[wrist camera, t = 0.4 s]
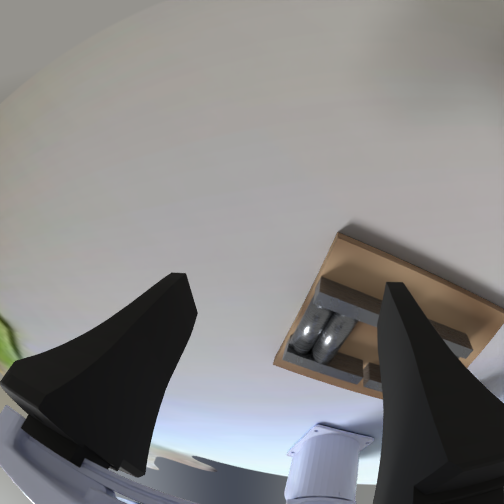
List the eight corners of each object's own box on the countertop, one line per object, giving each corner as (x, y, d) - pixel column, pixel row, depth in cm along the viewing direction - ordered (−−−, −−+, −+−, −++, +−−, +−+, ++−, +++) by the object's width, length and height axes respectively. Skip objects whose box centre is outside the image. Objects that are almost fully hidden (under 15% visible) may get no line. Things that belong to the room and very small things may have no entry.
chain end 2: (420, 386, 23) (423, 402, 21) (363, 369, 23) (363, 386, 22) (466, 334, 19) (473, 350, 18) (407, 310, 20) (411, 327, 18)
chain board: (423, 402, 25) (424, 409, 24) (275, 356, 26) (272, 364, 25) (504, 309, 19) (508, 316, 18) (337, 232, 20) (337, 237, 19)
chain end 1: (357, 367, 23) (357, 384, 22) (286, 342, 24) (282, 359, 22) (401, 307, 20) (405, 324, 18) (321, 276, 21) (319, 291, 19)
